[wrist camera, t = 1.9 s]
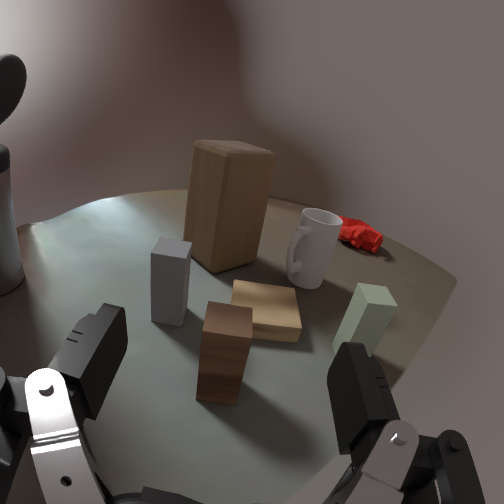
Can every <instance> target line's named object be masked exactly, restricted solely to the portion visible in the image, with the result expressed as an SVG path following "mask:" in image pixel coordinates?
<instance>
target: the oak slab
mask: <svg viewBox="0 0 504 504" xmlns="http://www.w3.org/2000/svg"><path fill="white" fill-rule="evenodd" d="M231 305H237V306H243V307H250V308H253V326H252V338H257V339H265V340H274V341H283V342H292V343H297V341H298V338H299V335H300V333H301V330H302V326H301V320H300V315H299V310H298V304H297V299H296V294H295V289H294V288H289V287H282V286H275V285H268V284H261V283H254V282H248V281H241V280H234V284H233V290H232V297H231Z"/></svg>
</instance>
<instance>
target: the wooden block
mask: <svg viewBox="0 0 504 504" xmlns="http://www.w3.org/2000/svg"><path fill="white" fill-rule="evenodd" d="M276 159H277V158H276V154H274V153H273V152H272V151H269V150H266V149H262V148H260V147H256V146H253V145H250V144H247V143H243V142H240V141H224V140H199V141H196V142H195V144H194V146H193V154H192V161H191V170H190V178H189V187H188V196H187V205H186V215H185V226H184V237H183V241H186V242H192V252H191V256H192V257H193V258H194V259H195V260H197V261H198V262H199V263H200V264H201V265H203V266H204V267H205V268H206V269H207V270H209V271H210V272H212V273H219V272H223V271H226V270H229V269H232V268H235V267H239V266H242V265H245V264H248V263H252V262H253V261H254V260H255V259H256V256H257V251H258V246H259V241H260V237H261V232H262V227H263V222H264V217H265V212H266V208H267V203H268V198H269V193H270V188H271V183H272V178H273V173H274V169H275V164H276Z"/></svg>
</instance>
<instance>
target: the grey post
mask: <svg viewBox="0 0 504 504" xmlns="http://www.w3.org/2000/svg"><path fill="white" fill-rule="evenodd" d="M191 252H192V242H186V241H180V240H173V239H167V238H161V237H160V239H159V241H158V242H157V244H156V245H155V247H154V249H153V250H152V252H151V321H153V322H158V323H163V324H168V325H173V326H179V327H182V324H183V320H184V317H185V313H186V310H187V301H188V288H189V275H190V263H191Z"/></svg>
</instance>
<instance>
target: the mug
mask: <svg viewBox="0 0 504 504" xmlns="http://www.w3.org/2000/svg"><path fill="white" fill-rule="evenodd" d="M342 224H343V221H342V219H341V218H340V217H338V216H337V215H335V214H333V213H330V212H328V211H325V210H321V209H315V208H306V209H304V210H303V211H302V215H301V219H300V223H299V226H297V230H296V232H295V234H294V235H293V237H292V239H291V242H290V244H289V247H288V250H287V256H286V271H287V272H288V274H287V277H288V279H289V281H290V282H291V283H293V284H294V285H296V286H298V287H301V288H304V289H316V288H318V287H320V286H321V284H322V281H323V279H324V276H325V273H326V271H327V268H328V265H329V262H330V259H331V257H332V254H333V251H334V248H335V245H336V242H337V239H338V236H339V233H340V230H341V226H342Z"/></svg>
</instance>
